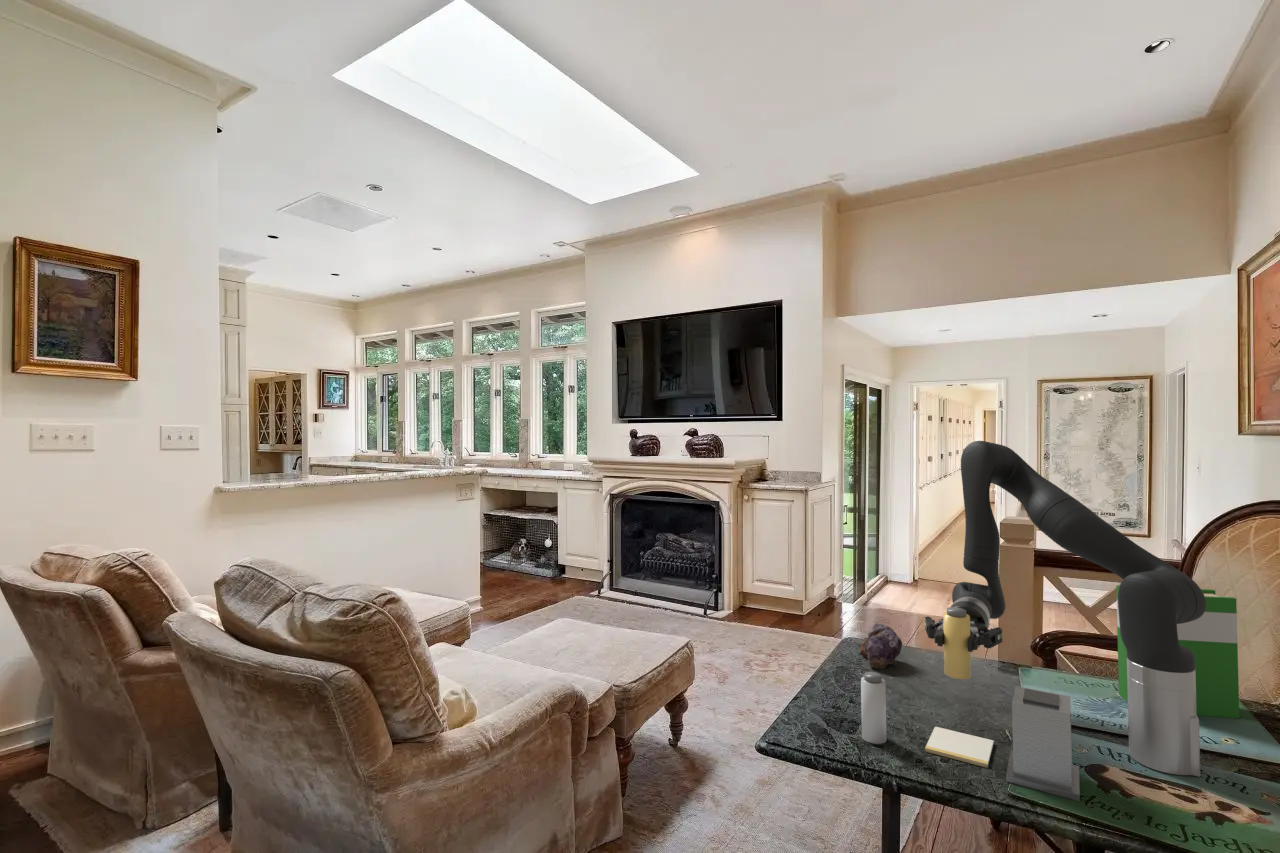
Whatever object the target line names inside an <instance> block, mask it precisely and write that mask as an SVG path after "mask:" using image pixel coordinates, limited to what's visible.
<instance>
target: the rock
mask: <svg viewBox="0 0 1280 853" xmlns="http://www.w3.org/2000/svg"><path fill="white" fill-rule="evenodd" d="M867 636H868V637H866V636H865V637H864V638H863V639H862V643H861V648H860V649H859V654H860V655H861V656H862V655H863V656H862V657H864V656H865V657H864V658H867V660H868V661H867V662H868V665H869V666H870V667H872V668H874V669H878V668H879V669H880V670H881V669H882V668H883V669H885V668H886V667H887V666H888V665H892V664H894V661H895V660H896V658H897V657H898V656H899V655H900V654H901V651H902V646H903V642H902V640H901V638H900V637H899V635H898V634H897V633H896V631H894V629H893V628H891V627H890V626H888V625H885V624H882V623H876V622H875V624H872V625H871V626H870V629H868V632H867Z"/></svg>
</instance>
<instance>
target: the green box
mask: <svg viewBox="0 0 1280 853" xmlns="http://www.w3.org/2000/svg"><path fill="white" fill-rule="evenodd" d="M1119 587H1120V584H1119V585H1116V622H1117V623H1116V626H1117V627H1116V628H1117V629H1116V630H1117V632H1116V633H1117V634H1116V635H1117V666H1118V667H1117V668H1118V674H1117V675H1118V696H1120V697H1121V698H1123V699H1124V700H1125V701H1126V702H1127V703H1128V685H1127V651H1126V648H1125V645H1124V644H1123V641H1122V638H1121V634H1120V622H1119V611H1118V591H1119ZM1200 589H1201V590H1202V592H1203V594H1204V596H1205V599H1206V610H1205V612H1204V614H1203V615H1202V616H1201V617H1200V618H1198V619H1196V620H1193V621H1190V622H1186V623H1181V624H1177V633H1178V641H1179V644H1180V645H1181V646H1184V647H1186V648H1188V649H1189V650H1191V651H1192V652H1193V654H1194V656H1195V674H1196V713H1197V716H1210V717H1220V718H1221V717H1223V718H1234V719H1240V697H1239V696H1240V694H1239V693H1240V689H1239V688H1240V687H1239V686H1240V685H1239V653H1238V648H1239V646H1238V613H1237V610H1238V608H1237V598H1236V597H1232V596H1231V597H1230V596H1219V595H1217V594H1216V590H1214V589H1210V588H1209V589H1207V588H1200Z"/></svg>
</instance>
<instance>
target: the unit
mask: <svg viewBox="0 0 1280 853" xmlns="http://www.w3.org/2000/svg"><path fill="white" fill-rule="evenodd" d="M1071 704H1072V703H1071V696H1069V695H1065V694H1064V695H1063V694H1059V693H1054V692H1049V691H1043V690H1039V689H1033V688H1029V687H1023V686H1019V685H1018V686H1017V685H1015V687H1014V692H1013V697H1012V700H1011V717H1012V718H1011V719H1012V720H1011V722H1012V727H1011V728H1012V749H1011V750H1010V753H1009V757H1008V763H1007V768H1006V775H1005V781H1006V783H1011V784H1015V785H1019V786H1021V787H1026V788H1030V789H1033V790H1037V791H1041V792H1045V793H1047V794H1051V795H1054V796H1058V797H1062V798H1066V799H1069V800H1073V801H1078V802H1080V800H1081V798H1080V797H1081V795H1080V794H1081V793H1080V792H1081V791H1080V787H1081V786H1080V766H1079V765H1075V764H1073V760H1072V759H1073V756H1072V753H1073V752H1072V751H1073V750H1072V716H1071V715H1072V714H1071V712H1072V711H1071V708H1072V707H1071Z"/></svg>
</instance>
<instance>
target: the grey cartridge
mask: <svg viewBox="0 0 1280 853" xmlns="http://www.w3.org/2000/svg"><path fill="white" fill-rule="evenodd" d="M886 690H887V689H886V680H885V679H884V678H883V676H882V674H880V673H879V672H876V671H875V672H874V671H866V672H864V673H863V676H862V677H861V678H860V699H861V700H860V703H861V704H860V705H861V709H860V710H861V712H860V713H861V739H862V740H863V741H865V742H866V743H870V744H874V745H875V744H876V745H881V744H885V743H886V742H887V702H886V701H887V697H886V695H887V694H886Z"/></svg>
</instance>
